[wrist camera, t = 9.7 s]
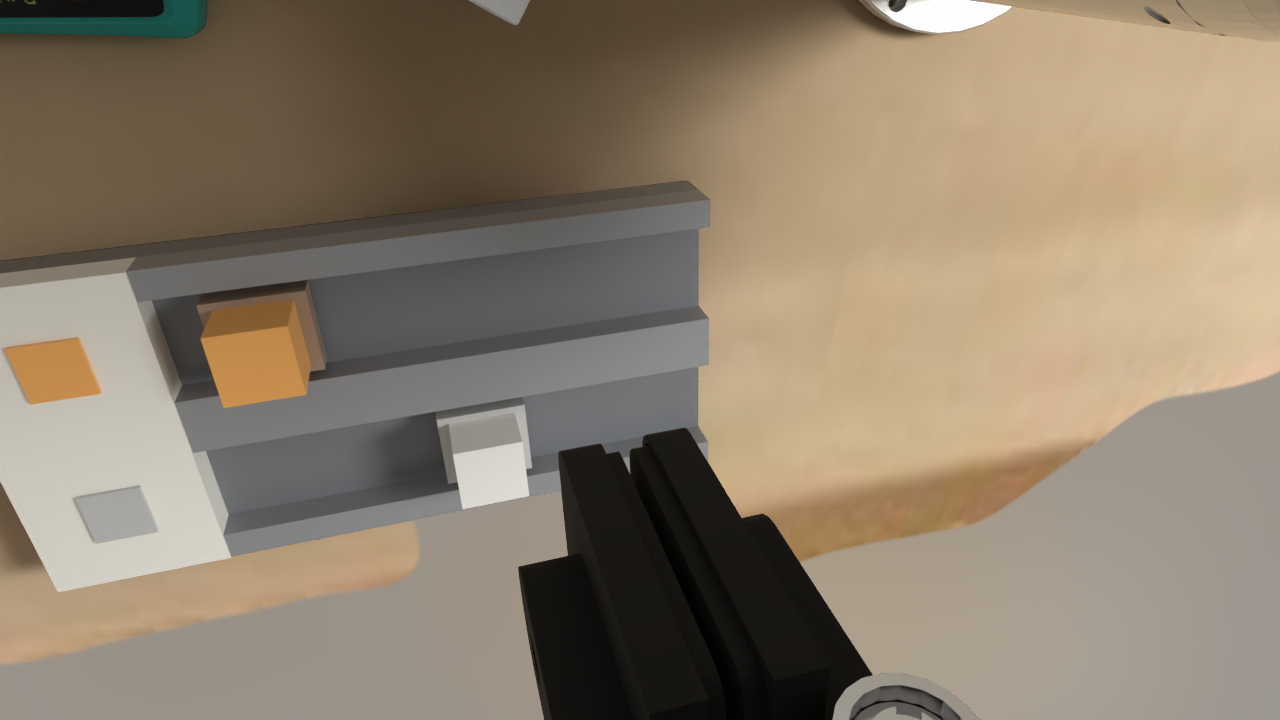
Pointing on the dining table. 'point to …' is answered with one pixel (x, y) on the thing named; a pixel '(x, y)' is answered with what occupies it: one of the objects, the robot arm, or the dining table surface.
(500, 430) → the tab white
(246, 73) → the dining table surface
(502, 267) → the switch panel
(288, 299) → the tab orange
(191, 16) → the digital multimeter
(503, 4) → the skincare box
